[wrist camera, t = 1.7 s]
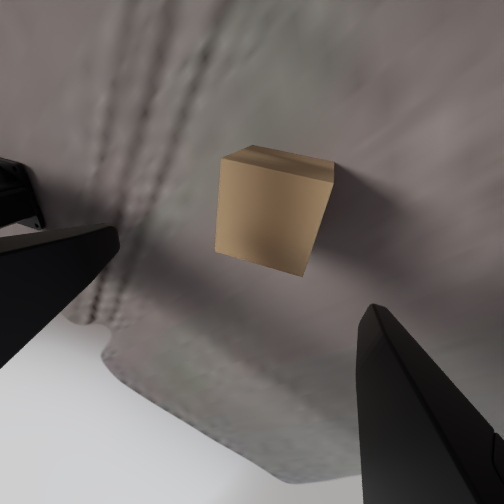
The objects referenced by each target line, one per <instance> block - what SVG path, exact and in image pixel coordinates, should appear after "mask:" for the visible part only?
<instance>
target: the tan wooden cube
mask: <svg viewBox="0 0 504 504" xmlns="http://www.w3.org/2000/svg"><path fill="white" fill-rule="evenodd" d="M333 184H334V162H331V161H327V160H322V159H317V158H312V157H307V156H303V155H298V154H293V153H288V152H283V151H279V150H274V149H269V148H264V147H259V146H254V145H252V146H249V147H247V148H245V149H242V150H240V151H237V152H235V153H233V154H230V155H228V156H225V157H223V158H221V169H220V183H219V198H218V212H217V226H216V240H215V252H219V253H222V254H225V255H229V256H232V257H236V258H239V259H242V260H246V261H249V262H253V263H256V264H259V265H263V266H266V267H269V268H273V269H276V270H280V271H283V272H286V273H290V274H293V275H297V276H300V277H303V275H304V272H305V269H306V266H307V263H308V260H309V257H310V254H311V251H312V248H313V245H314V242H315V239H316V236H317V233H318V229H319V226H320V223H321V220H322V217H323V214H324V211H325V208H326V205H327V202H328V199H329V196H330V193H331V190H332V187H333Z"/></svg>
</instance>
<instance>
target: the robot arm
mask: <svg viewBox="0 0 504 504" xmlns="http://www.w3.org/2000/svg"><path fill="white" fill-rule="evenodd" d="M15 223H18V224H22V225H25V226H28V227H31V228H34V229H37V230H41V229H44V228H45V224H44V222H43V219H42V216H41V213H40V211H39V208H38V205H37V203H36V200H35V197H34V194H33V192H32V189H31V186H30V183H29V181H28V178H27V175H26V172H25V170H24V168H23V166H22V165H21V164H20V163H17V162H14V161H10V160H6V159H2V158H0V229H1V228H3V227H6V226H9V225H12V224H15ZM119 249H120V242H119V237H118V231H117V229H116V227H115V226H113V225H109V224H106V223H101V224H94V225H87V226H80V227H72V228H65V229H58V230H51V231H43V232H36V233H29V234H22V235H14V236H7V237H0V369H1V368H2V367H3V366H4V365H5V364H6V363H7V362H8V361H9V360H10V359H11V358H12V357H13V356H14V355H15V354H17V353H18V352H19V351H20V350H21V349H22V348H23V347H24V346H25V345H26V344H27V343H28V342H29V341H30V340H31V339H32V338H33V337H34V336H36V334H38V333H39V332H40V331H41V330H42V329H43V328H44V327H45V326H46V325H47V324H48V323H49V322H50V321H51V320H52V319H53V318H54V317H56V316H57V315H58V314H59V313H60V312H61V311H62V310H63V309H64V308H65V307H66V306H67V305H68V304H69V303H70V302H71V301H72V300H73V299H75V298H76V297H77V296H78V295H79V294H80V293H81V292H82V291H83V290H84V289H85V288H86V287H87V286H88V285H89V284H90V283H91V282H92V281H93V280H94V279H95V278H96V277H97V276H98V274H99V273H100V272H101V271H102V270H103V269H104V267H105V266H106V265H107V264H108V263H109V262H110V261H111V259H112V258H113V257H114V256H115V255H116V254H117V253H118V251H119ZM356 392H357V408H358V424H359V440H360V456H361V471H362V487H363V503H364V504H504V440H503V439H502V438H501V436H500V435H499V434H498V433H495V432H494V429H493V427H492V426H491V425H490V424H489V423H488V422H487V421H486V420H485V418H484V417H483V416H482V415H481V414H480V413H479V412H478V411H477V409H476V408H475V407H474V406H473V405H472V404H471V403H470V402H469V400H468V399H467V398H466V397H465V396H464V395H463V394H462V392H461V391H460V390H459V389H458V388H457V387H456V386H455V385H454V383H453V382H452V381H451V380H450V379H449V378H448V377H447V376H446V374H445V373H444V372H443V371H442V370H441V369H440V368H439V366H438V365H437V364H436V363H435V362H434V361H433V360H432V359H431V357H430V356H429V355H428V354H427V353H426V352H425V351H424V350H423V348H422V347H421V346H420V345H419V344H418V343H417V342H416V340H415V339H414V338H413V337H412V336H411V335H410V334H409V333H408V331H407V330H406V329H405V328H404V327H403V326H402V325H401V324H400V322H399V321H398V320H397V319H396V318H395V317H394V316H393V315H392V313H391V312H390V311H389V310H388V309H387V308H386V307H384V306H380V305H377V304H370V305H369V307H368V308H367V310H366V312H365V314H364V315H363V317H362V319H361V320H360V323H359V326H358V339H357V356H356Z"/></svg>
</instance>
